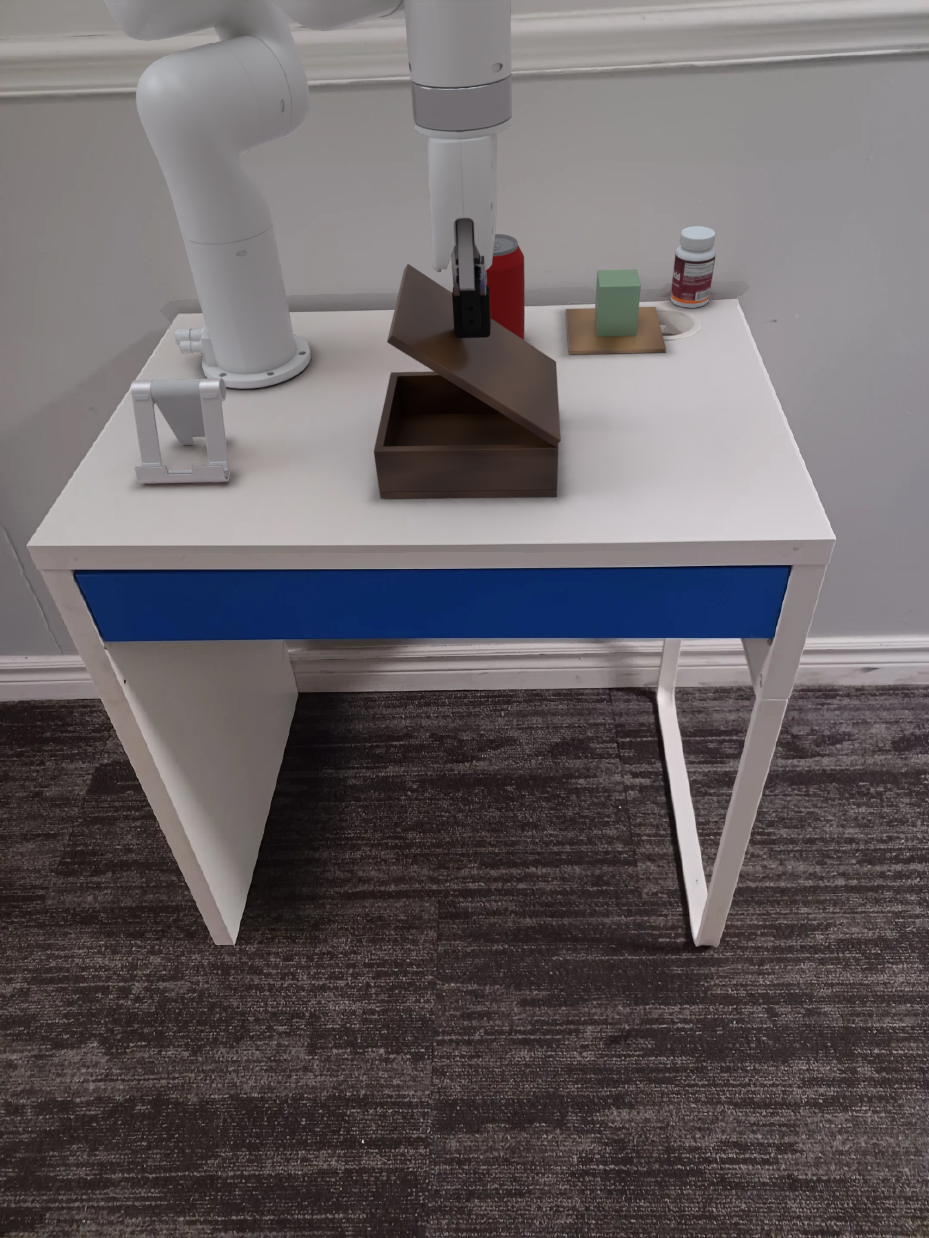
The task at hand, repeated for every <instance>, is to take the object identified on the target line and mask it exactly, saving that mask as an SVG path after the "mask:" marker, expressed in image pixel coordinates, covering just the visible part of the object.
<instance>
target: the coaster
mask: <svg viewBox="0 0 929 1238" xmlns="http://www.w3.org/2000/svg"><path fill="white" fill-rule="evenodd" d="M565 320H566V321H565V322H566V333H567V334H566V335H567V344H568V347H567V348H568V355H607V354H608V355H609V354H649V353H650V354H651V353H666V351H667V348H666V344H665V340H664V335H663V331H662V328H661V327H662V326H661V323H660V319H659V316H658V312H657V307H656V306H639V312H638V323H637V334H636V336H612V337H597V334H596V326H595V307H592V308H588V307H587V308H585V307H584V308H565Z"/></svg>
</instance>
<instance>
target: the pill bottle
mask: <svg viewBox="0 0 929 1238" xmlns="http://www.w3.org/2000/svg"><path fill="white" fill-rule="evenodd" d="M679 238H680V239H679V245H678V247H677V248H676V250H675V253H674V263H673V271H672V278H671V279H672V280H671V289H670V301H671V303H672V304H674V305H675V306H678V307H681V308H689V309H695V308H700V307H703V306H705V305H707V304H708V302H709V301H710V294H711V288H712V281H713V275H714V268H715V261H716V256H717V252H716V249H715V247H714V246H715V240H716V231H715V230H714V229H712V228H711V227H707V226H701V225H695V226H687V227H685V228H683V229H682V230H681V231H680V237H679Z"/></svg>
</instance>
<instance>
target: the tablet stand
mask: <svg viewBox="0 0 929 1238" xmlns="http://www.w3.org/2000/svg"><path fill="white" fill-rule="evenodd" d="M130 393H131V394H130V395H131V401H132V408H133V413H134V414H133V415H134V421H135V426H136V434H137V440H138V447H139V454H140V461H141V465H139V466H134V472H135V476H136V479H137V482H138V483H139V484H150V485H156V484H187V483H188V484H189V483H194V484H195V483H214V484H218V483H219V484H220V483H228V482H229V481H230V475H231V472H230V462H229V455H228V453H229V452H228V446H227V437H226V436H227V435H226V429H225V421H224V413H223V402H224V401H225V400H226V398H227V387H226V385H225V382H224V380H223V379H222V378H207V377H206V378H172V379H171V378H170V379H138V380H137V379H136V380H132V381H131V385H130ZM155 405H156V406H157V408H158V410H159V411H160V413H161V415H162V416H163V418H164V419H165V421H166V423H167V425H168V426H169V428H170V429H171V431H172V433H173V434H174V436H175V438H176V440H177V441H178V443H179V444H181V445H184V446H185V445H186V446H187V445H189V446H191V445H194V444H195V443H194V439H193V438H205V445H206V453H207V459H208V460H207V464H194V465H193V464H191V466H190V469H168V466H166V465H163V461H162V455H161V453H162V452H161V448H160V439H159V434H158V433H159V432H158V426H157V421H156V414H155V413H156V412H155Z"/></svg>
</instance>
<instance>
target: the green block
mask: <svg viewBox="0 0 929 1238" xmlns="http://www.w3.org/2000/svg"><path fill="white" fill-rule="evenodd" d="M641 285H642V284H641V281H640V276H639V272H638V269H637V268H636V269H606V270H605V269H601V270H596V287H595V302H594V303H595V305H594V308H595V326H596V334H597V337H612V336H636V334H637V323H638V312H639V307H640V300H641V289H642V286H641Z"/></svg>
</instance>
